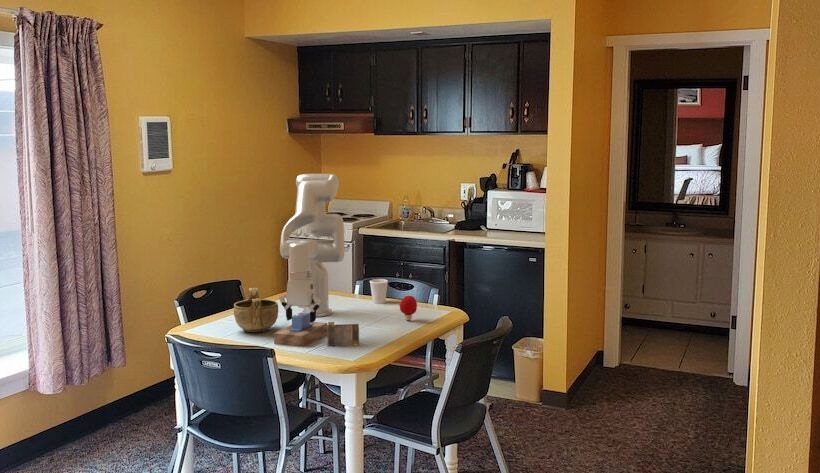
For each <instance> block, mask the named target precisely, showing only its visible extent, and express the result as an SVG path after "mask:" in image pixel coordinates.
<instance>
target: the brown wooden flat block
mask: <svg viewBox="0 0 820 473" xmlns="http://www.w3.org/2000/svg"><path fill="white" fill-rule="evenodd" d="M310 323H313V325H311V326H310V328H308V329H306V330H304V331H300V332H296V331H289V330H290V329H292V323H291V324H290V325H289V324H288V326H286V327H285V326H284V327H283V328H281V329H279V330H277V331H276V332H274V333H273V343H274V345H283V346H291V347H301V346H302V348H303V347H306V346H307V345H309V344H312V343H313V342H315V341H316V340H318V339H320V338H321V337H323V336H325V335H328V331H327V325H328V322H321V321H314V322H310Z"/></svg>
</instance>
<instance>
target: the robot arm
mask: <svg viewBox="0 0 820 473" xmlns="http://www.w3.org/2000/svg"><path fill="white" fill-rule="evenodd" d="M339 184H340V181H339V178H338V176H337V175H336V174H334V173H303V174H302V173H301V174H299V175H297V177H296V179H295V185H296V188H297V191H296V203H295V212H294V215H293V216H292V217H291V218H289V219H288V221H287V222H286V223H285V225H284V226H283V228H282V231H281V234H280V235H281V236H280V243H279V244H280V245H279V253H280V256H281V257H282V258H284V259H286V260H289V261H288V263H289V278H288V280H287V285H286V294H284V295H281V296H280V297H279V298H278V299H279V302H280V304H281V306H282V307H283V309H284V310H285V317H286V321H290V320H291V321H292V316H293V309H292V307H293V306H294V307H298V308H299V309H303V310H302V311H301V312H302V313H310V322H316V319H317V317H326V316H330V315H332V314H333V309H332V308H330V307H329V303H330V302H329V273H328V269H327V268H326V267H325V265H324V264H323V263H340V262H342V261H343V260H344V258H345V226H344V224H345V223H344V219H343V217H342V215H340V214H338V213H327V212H326V202H333V201H334V199H335V198H336V196H337V193H338V191H339V187H340V185H339ZM303 227H305V233H306V234H307V236H310V237H316V238H317V237H321V238H323V237H326V238H327V237H331V238H332V239H311V238H290V237H291V235H292V234H293V233H294V232H295V231H298V230H299V229H301V228H303ZM285 299H286V300H285Z"/></svg>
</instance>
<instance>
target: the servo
mask: <svg viewBox="0 0 820 473" xmlns="http://www.w3.org/2000/svg"><path fill="white" fill-rule="evenodd" d="M291 324H292V329H290V330H289V331H296V332H300V331H304V330H306V329H308V328H310V326H311V325H313V323H310V313H303V312H302V311H301V312H299V313H297V314H295V315H292V319H291Z"/></svg>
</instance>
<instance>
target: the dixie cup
mask: <svg viewBox="0 0 820 473" xmlns="http://www.w3.org/2000/svg"><path fill="white" fill-rule="evenodd" d="M388 282H389V280H388V279H384V278H376V279H375V278H374V279H371V280H369V283H370V292H371V299H372V304H374V303H375V304H377V305H382V304H386V301H387V292H388V291H387V290H388Z"/></svg>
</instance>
